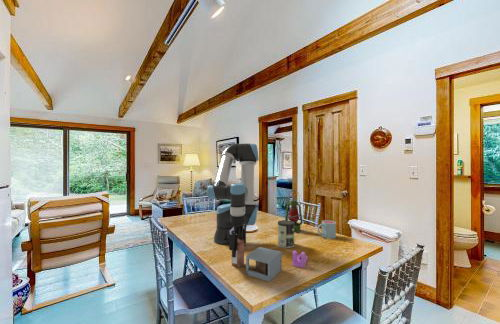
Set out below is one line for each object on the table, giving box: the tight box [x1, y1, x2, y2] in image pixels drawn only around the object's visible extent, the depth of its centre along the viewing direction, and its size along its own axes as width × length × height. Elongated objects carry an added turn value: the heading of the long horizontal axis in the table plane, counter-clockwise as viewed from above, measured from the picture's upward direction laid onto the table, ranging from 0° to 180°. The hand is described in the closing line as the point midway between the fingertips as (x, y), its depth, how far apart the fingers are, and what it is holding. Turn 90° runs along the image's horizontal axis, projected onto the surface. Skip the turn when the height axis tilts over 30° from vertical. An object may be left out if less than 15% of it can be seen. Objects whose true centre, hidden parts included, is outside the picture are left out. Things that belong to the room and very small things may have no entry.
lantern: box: [284, 190, 304, 234], centre depth 170 cm, size 14×11×30 cm
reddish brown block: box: [231, 239, 268, 275], centre depth 110 cm, size 19×5×12 cm, turn 60°
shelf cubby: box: [245, 246, 283, 282], centre depth 106 cm, size 12×13×8 cm
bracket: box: [291, 250, 308, 269], centre depth 117 cm, size 13×6×7 cm, turn 156°
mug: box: [317, 219, 337, 240], centre depth 156 cm, size 14×9×10 cm
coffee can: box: [277, 219, 295, 249], centre depth 140 cm, size 10×10×14 cm
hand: (237, 261), depth 113 cm, fingers closed on reddish brown block, 4 cm apart
